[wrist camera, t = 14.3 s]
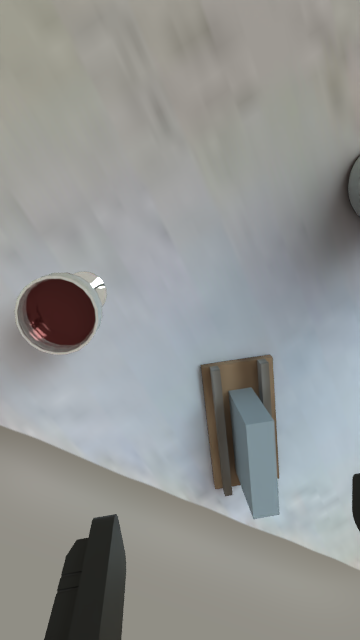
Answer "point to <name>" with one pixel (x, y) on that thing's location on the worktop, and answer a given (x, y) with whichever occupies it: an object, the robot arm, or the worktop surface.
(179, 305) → the worktop surface
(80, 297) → the wineglass
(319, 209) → the worktop surface
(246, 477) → the door panel
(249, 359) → the door track
